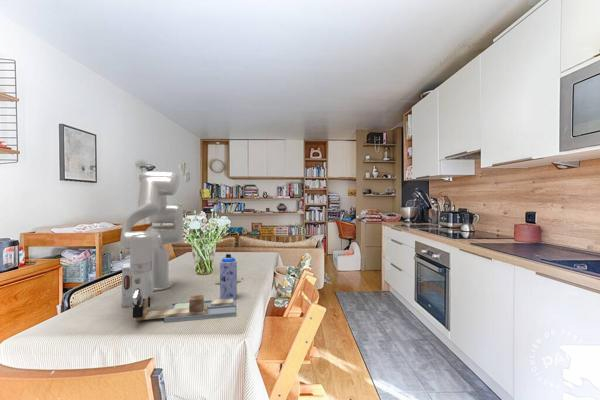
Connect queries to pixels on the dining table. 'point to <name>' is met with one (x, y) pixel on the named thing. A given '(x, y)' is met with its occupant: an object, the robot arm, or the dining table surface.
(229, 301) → the broken strip
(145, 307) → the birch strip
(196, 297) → the walnut block
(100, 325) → the dining table surface
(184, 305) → the felt coaster
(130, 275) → the supplement box
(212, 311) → the slate board
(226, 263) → the aerosol can
